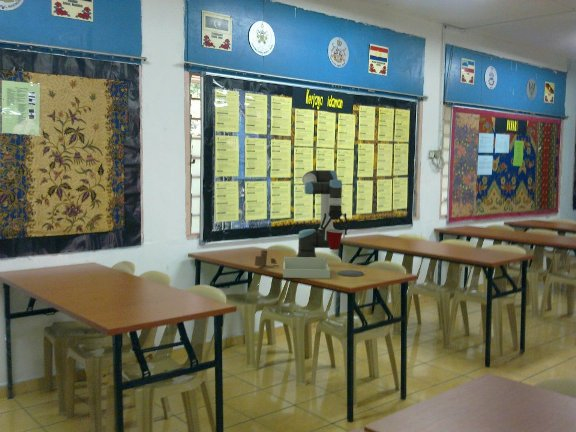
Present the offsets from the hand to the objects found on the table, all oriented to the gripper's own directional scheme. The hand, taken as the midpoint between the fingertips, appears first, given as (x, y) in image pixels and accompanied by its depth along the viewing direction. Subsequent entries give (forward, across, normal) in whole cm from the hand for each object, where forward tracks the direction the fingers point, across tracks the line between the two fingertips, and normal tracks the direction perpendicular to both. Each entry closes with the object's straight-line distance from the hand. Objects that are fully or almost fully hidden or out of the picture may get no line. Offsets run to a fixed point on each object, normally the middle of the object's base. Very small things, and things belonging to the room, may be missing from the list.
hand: (334, 240), depth 373 cm
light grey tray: (+21, -18, 0) cm, 28 cm away
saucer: (+21, +10, +1) cm, 24 cm away
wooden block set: (+21, -46, +23) cm, 55 cm away
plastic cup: (+6, 0, 0) cm, 6 cm away
